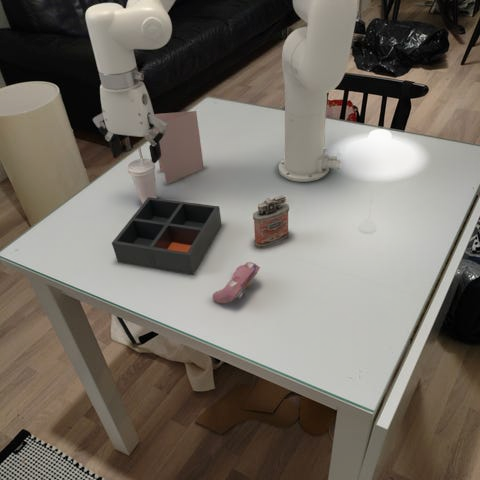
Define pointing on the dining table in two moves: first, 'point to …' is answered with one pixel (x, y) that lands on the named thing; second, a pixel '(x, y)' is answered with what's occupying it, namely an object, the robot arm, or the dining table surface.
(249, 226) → the dining table surface
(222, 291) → the video game controller
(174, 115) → the greeting card
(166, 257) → the crate
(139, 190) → the smoothie
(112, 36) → the robot arm
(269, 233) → the lighter
